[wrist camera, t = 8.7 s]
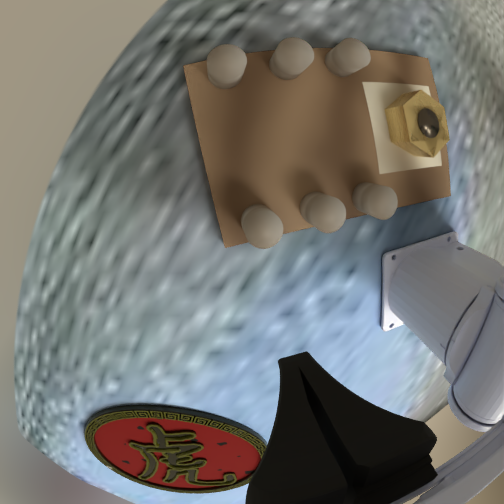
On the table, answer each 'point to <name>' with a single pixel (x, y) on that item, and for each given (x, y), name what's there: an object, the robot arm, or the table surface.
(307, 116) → the board
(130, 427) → the decorative plate
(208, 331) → the table surface
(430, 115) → the brass nut
